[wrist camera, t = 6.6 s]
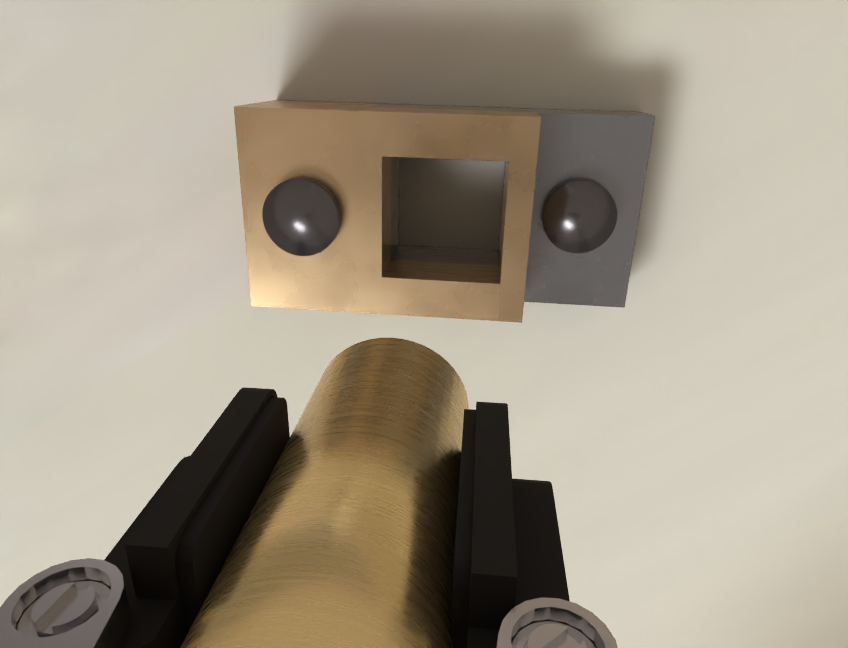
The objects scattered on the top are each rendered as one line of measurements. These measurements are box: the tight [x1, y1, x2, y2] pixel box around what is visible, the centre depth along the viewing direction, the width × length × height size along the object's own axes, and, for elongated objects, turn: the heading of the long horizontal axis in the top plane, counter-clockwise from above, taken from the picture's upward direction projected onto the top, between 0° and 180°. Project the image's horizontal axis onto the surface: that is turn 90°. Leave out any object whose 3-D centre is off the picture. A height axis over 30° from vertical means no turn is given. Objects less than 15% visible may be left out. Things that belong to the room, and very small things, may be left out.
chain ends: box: [234, 100, 655, 322], centre depth 26 cm, size 16×8×6 cm, turn 88°
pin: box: [180, 338, 468, 648], centre depth 8 cm, size 3×3×10 cm
